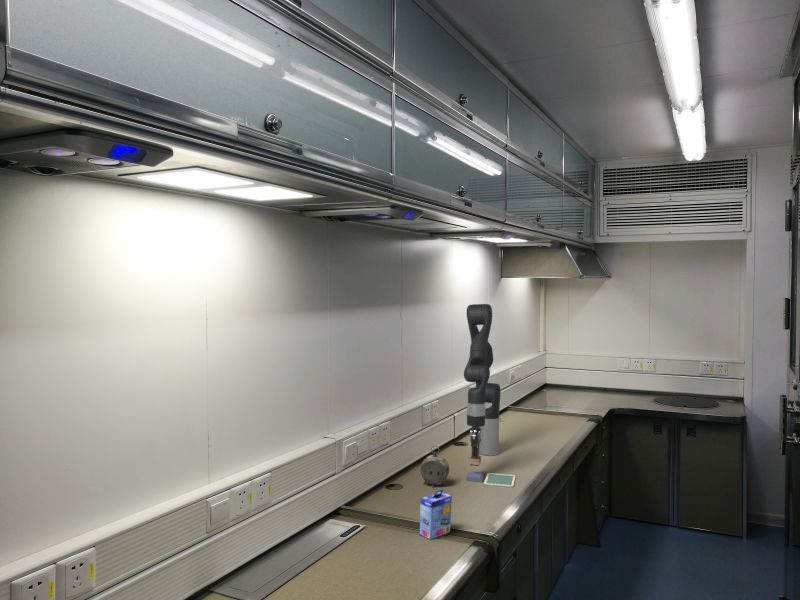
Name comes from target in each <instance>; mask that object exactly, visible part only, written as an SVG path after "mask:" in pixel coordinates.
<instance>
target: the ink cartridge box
mask: <svg viewBox="0 0 800 600" xmlns="http://www.w3.org/2000/svg"><path fill="white" fill-rule="evenodd" d="M452 497H453V496H452V495H451V494H449V493H446V492H444V488H443V489H439V490H438V491H435V492H434V493H432V494H428V495H425V496H422V497H420V506H419V507H420V508H419V515H420V516H419V535H420V536H422V537H424V538H426V539H428V540H430V541H431V540H433V539H436V538H438V537H441V536H443V535H446V534H448V533H451V519H452V500H453V499H452Z"/></svg>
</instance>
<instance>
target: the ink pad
mask: <svg viewBox="0 0 800 600" xmlns="http://www.w3.org/2000/svg"><path fill="white" fill-rule="evenodd" d="M484 477H485V472H483V471H478V470H477V471H474V470H469V471H468V473H467V474H466V477H465V481H466V482H467V481H468V482H476V483H482V482H483V480H484Z"/></svg>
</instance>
